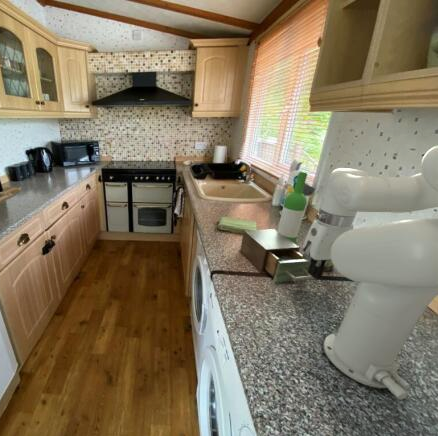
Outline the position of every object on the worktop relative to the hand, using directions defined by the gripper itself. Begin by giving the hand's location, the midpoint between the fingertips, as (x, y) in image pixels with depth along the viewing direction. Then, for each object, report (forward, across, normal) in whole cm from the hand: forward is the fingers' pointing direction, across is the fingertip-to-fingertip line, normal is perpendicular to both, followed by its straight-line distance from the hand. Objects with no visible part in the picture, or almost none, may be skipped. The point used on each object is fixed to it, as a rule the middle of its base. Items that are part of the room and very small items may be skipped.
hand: (313, 275), depth 70 cm
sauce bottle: (+9, +18, +14) cm, 24 cm away
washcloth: (+9, +3, +49) cm, 50 cm away
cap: (+6, 0, +11) cm, 12 cm away
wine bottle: (+9, +18, +34) cm, 39 cm away
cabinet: (+8, 0, +21) cm, 22 cm away
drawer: (+7, 0, +11) cm, 13 cm away
